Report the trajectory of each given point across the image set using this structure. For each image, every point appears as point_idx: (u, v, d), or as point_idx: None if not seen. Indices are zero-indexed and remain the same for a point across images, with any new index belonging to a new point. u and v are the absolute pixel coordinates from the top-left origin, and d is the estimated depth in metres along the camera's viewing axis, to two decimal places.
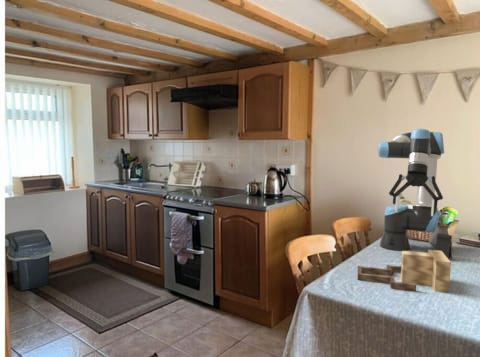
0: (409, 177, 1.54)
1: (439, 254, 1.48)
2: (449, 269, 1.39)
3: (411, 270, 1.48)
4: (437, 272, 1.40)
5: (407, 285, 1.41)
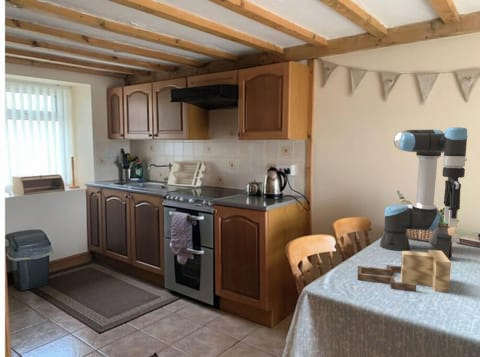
0: None
1: (439, 254, 1.48)
2: (449, 269, 1.39)
3: (412, 270, 1.48)
4: (437, 272, 1.40)
5: (407, 285, 1.41)
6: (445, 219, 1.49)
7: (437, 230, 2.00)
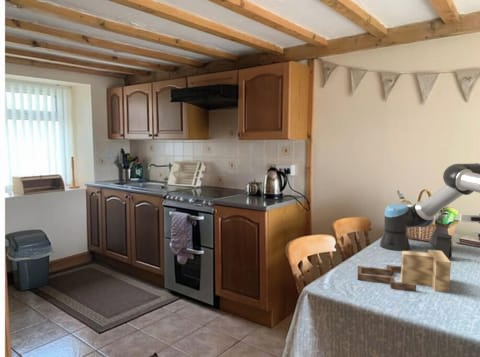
0: None
1: (439, 254, 1.48)
2: (449, 269, 1.39)
3: (411, 270, 1.48)
4: (437, 272, 1.40)
5: (407, 285, 1.41)
6: None
7: (437, 230, 2.00)
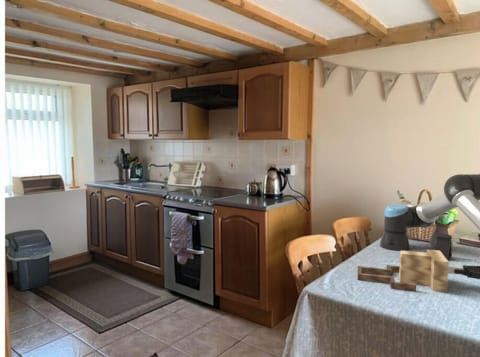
0: None
1: (437, 254, 1.48)
2: (447, 269, 1.39)
3: (410, 270, 1.49)
4: (435, 272, 1.41)
5: (407, 285, 1.41)
6: (448, 267, 1.46)
7: (437, 230, 2.00)
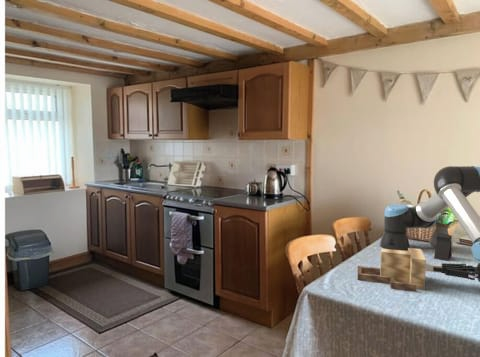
0: None
1: (417, 252, 1.50)
2: (424, 267, 1.42)
3: (389, 268, 1.51)
4: (413, 269, 1.43)
5: (407, 285, 1.41)
6: None
7: (437, 230, 2.00)
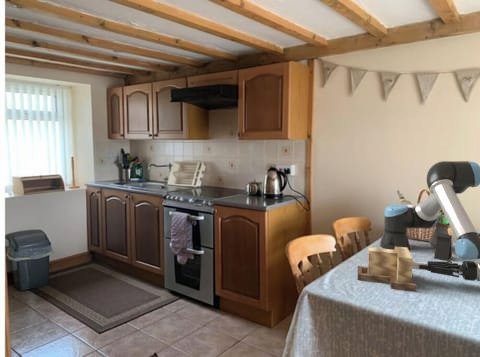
0: None
1: (403, 251, 1.52)
2: (411, 265, 1.43)
3: (377, 267, 1.53)
4: (400, 268, 1.45)
5: (407, 285, 1.41)
6: (413, 262, 1.50)
7: (437, 230, 2.00)
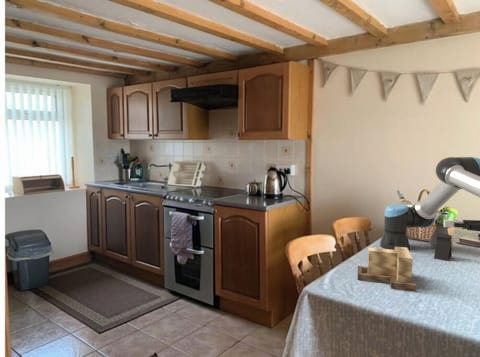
0: None
1: (403, 251, 1.52)
2: (411, 265, 1.43)
3: (377, 267, 1.53)
4: (400, 268, 1.45)
5: (407, 285, 1.41)
6: None
7: (437, 230, 2.00)
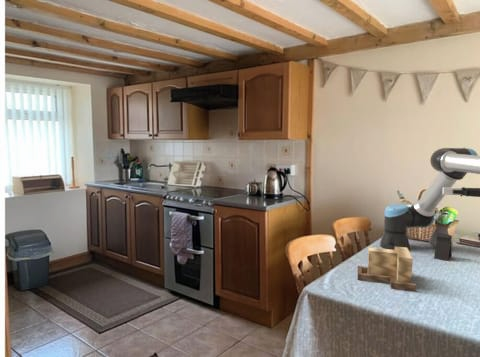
0: None
1: (403, 251, 1.52)
2: (411, 265, 1.43)
3: (377, 267, 1.53)
4: (400, 268, 1.45)
5: (407, 285, 1.41)
6: None
7: (437, 230, 2.00)
